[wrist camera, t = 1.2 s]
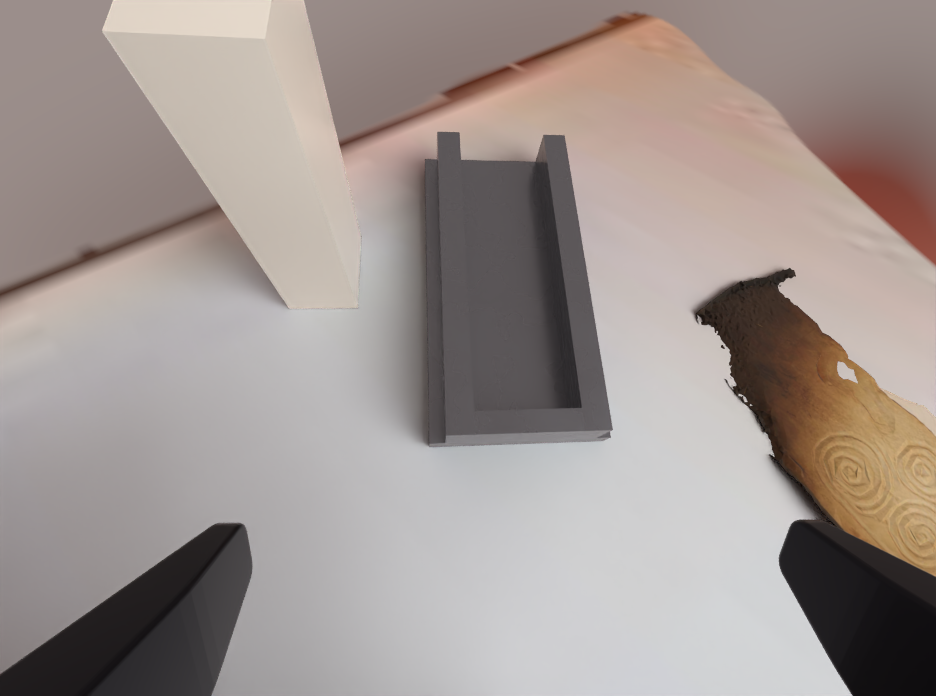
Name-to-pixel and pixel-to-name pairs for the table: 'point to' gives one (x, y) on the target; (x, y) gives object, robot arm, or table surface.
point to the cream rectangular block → (252, 131)
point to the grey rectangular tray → (509, 303)
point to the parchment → (832, 421)
